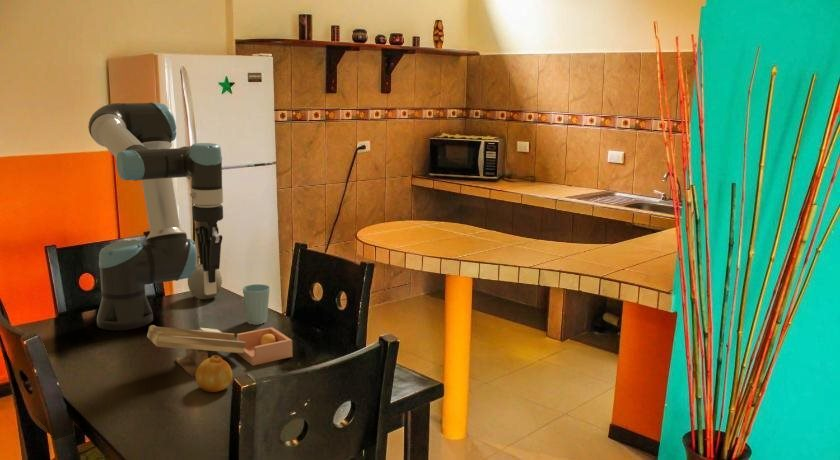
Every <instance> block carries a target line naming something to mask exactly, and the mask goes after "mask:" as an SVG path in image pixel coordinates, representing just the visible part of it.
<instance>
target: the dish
mask: <svg viewBox="0 0 840 460" xmlns="http://www.w3.org/2000/svg"><path fill="white" fill-rule="evenodd" d="M265 334H272V335H274V336H275V338H276V342H274V343H269V344H264V345H261V338H262V337H263V336H264V335H265ZM236 341H244V342H246V344H245V348H244V352H243V353H237V352H235V353H236V354H237V355H238V356H240V357H241V358H242V359H243V360H245V361H246V362H248V364H250V365H251V366H253V367H254V366H256V365H257V366H258V365H262V364H266V363H271V362H275V361H278V360H279V361H280V360H283V359H288V358H293V340H292V339H291V338H290V337H288V336H286V335H285V334H284V333H282V332H280V331H279V330H278V329H276V328H274V327H273V326H271V327H265V328H260V329H254V330H250V331H244V332H240V333H236Z"/></svg>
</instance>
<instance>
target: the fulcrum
mask: <svg viewBox="0 0 840 460" xmlns="http://www.w3.org/2000/svg"><path fill="white" fill-rule="evenodd" d="M185 350H186V355H183V356H178V357H175V361H176V363H177V364H178V365H180V367H182V369H183V370H184V371H186V373H188V375H190V376H191V377H196V376H195V375H196V371H197V369H198V367H199V365H200V364H201V363H202V362H203V361H205V360H206V359H208V358H210V357H209V353H208V351H207V350H197V349H185Z"/></svg>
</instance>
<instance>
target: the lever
mask: <svg viewBox="0 0 840 460" xmlns="http://www.w3.org/2000/svg"><path fill="white" fill-rule="evenodd" d="M235 336H236V334H235V333H233V332H232V333H231V332H230V333H229V332H222V331H220V330H219V329H217V328H209V327H208V328H207V327H199V330H198V329H189V328H188V329H187V328H175V327H165V326H156V325H154V324H151V325H149V326H148V331H147V334H146V338H148V339H149V340H150V342H151V343H153V344H154V345H155V346H156V347H157V348H158V347H159V348H171V349H172V348H173V349H185V350H186V349H197V350H204V351H210V352H211V351H212V352H225V353H226V352H227V353H236V352H237V353H243V352H244V348H245V344H246V342H244V341H237V340H235ZM237 353H236V354H237Z"/></svg>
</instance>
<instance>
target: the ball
mask: <svg viewBox="0 0 840 460" xmlns="http://www.w3.org/2000/svg"><path fill="white" fill-rule="evenodd" d="M274 342H276V338H275V336H274V335H272V334H265V335H264V336H263V337H262V338H261V345H264V344H269V343H274Z"/></svg>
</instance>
